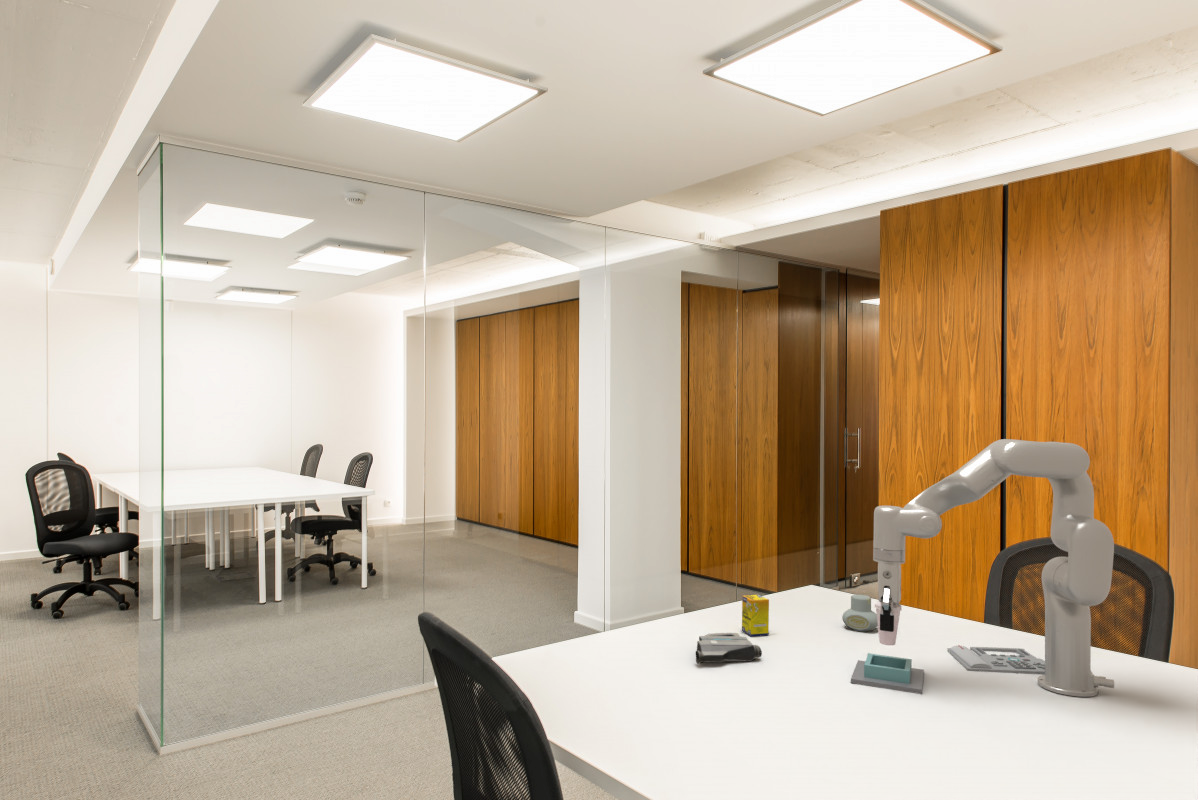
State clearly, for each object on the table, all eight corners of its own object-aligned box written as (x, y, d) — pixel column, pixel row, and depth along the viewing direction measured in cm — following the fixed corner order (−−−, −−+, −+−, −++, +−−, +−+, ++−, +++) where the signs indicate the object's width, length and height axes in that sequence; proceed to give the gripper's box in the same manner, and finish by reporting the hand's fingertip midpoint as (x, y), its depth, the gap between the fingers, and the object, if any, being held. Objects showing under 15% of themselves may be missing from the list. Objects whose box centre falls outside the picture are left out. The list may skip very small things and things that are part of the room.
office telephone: (968, 663, 196) (941, 640, 216) (968, 674, 196) (941, 650, 216) (1062, 667, 194) (1026, 643, 214) (1062, 677, 194) (1026, 653, 214)
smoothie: (896, 648, 185) (897, 591, 185) (870, 643, 189) (871, 587, 189) (904, 642, 190) (905, 586, 191) (878, 637, 194) (879, 582, 194)
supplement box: (741, 631, 229) (741, 595, 229) (758, 630, 231) (759, 594, 231) (750, 637, 223) (751, 600, 223) (768, 635, 225) (769, 598, 225)
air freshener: (882, 628, 235) (882, 596, 235) (876, 635, 228) (876, 601, 228) (846, 623, 240) (846, 591, 241) (839, 629, 233) (839, 596, 234)
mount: (923, 673, 193) (923, 657, 193) (921, 693, 179) (921, 676, 179) (858, 663, 200) (858, 648, 200) (850, 682, 186) (850, 666, 186)
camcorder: (767, 661, 201) (767, 642, 202) (700, 670, 194) (700, 649, 194) (734, 645, 217) (734, 626, 217) (670, 652, 209) (670, 633, 209)
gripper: (903, 562, 181) (901, 638, 180) (906, 551, 196) (905, 621, 196) (869, 559, 184) (868, 633, 184) (876, 548, 200) (875, 617, 199)
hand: (887, 626), depth 190 cm, fingers closed on smoothie, 6 cm apart
